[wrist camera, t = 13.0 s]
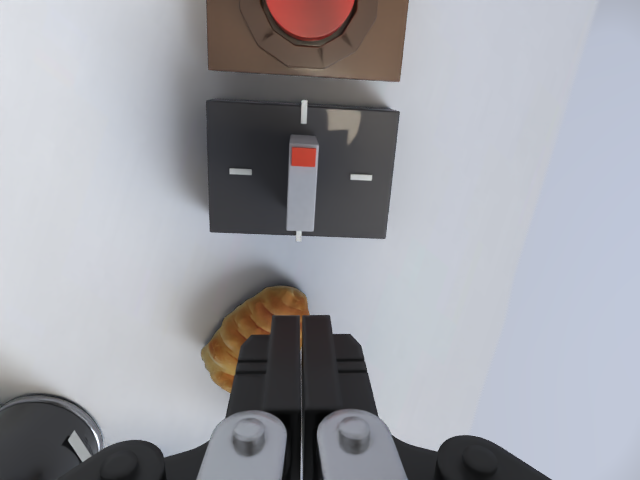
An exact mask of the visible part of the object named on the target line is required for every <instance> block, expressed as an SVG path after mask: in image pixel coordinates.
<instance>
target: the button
mask: <svg viewBox="0 0 640 480" xmlns="http://www.w3.org/2000/svg"><path fill="white" fill-rule="evenodd" d="M354 1H355V0H266V3H267V6H268V8H269V11H270V13H271V16H272V17H273V19H274V21H275V22H276V24H277V25H278V26H279V27H280V28H281V29H282V30H283V31H284V32H285V33H286V34H288V35H289V36H291V37H293V38H295V39H298V40H302V41H318V40H321V39H324V38H326V37H328V36H330V35H332V34H333V33H334V32H335V31H337V30H338V29H339V28H340V26H341V25H342V24H343V23H344V21H345V20H346V18H347V17H348V15H349V14H350V12H351V10H352V7H353V4H354Z"/></svg>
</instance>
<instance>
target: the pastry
mask: <svg viewBox="0 0 640 480" xmlns="http://www.w3.org/2000/svg"><path fill="white" fill-rule="evenodd" d="M272 315H300V350H301V346H302V315H309V311H308V303H307V298H306V296H305V294H304V293H302V292H301V291H299V290H298V289H296V288H294V287H290V286H273V287H266V288H265V289H264V290H262V291H261V292H259V293H258V294H257V295H256V296H254V297H252V298H249V299H247V300H246V301H245V302H244V303H243V304H242V305H239V306H237V307H236V309H235V310H234V311H233V312H231V313H230V314H228V315H227V316H226V317H225V318H224V319H223V322H222V326H221V327H220V328H219V329H218V330H217V331H216V333H215V334H214V335H213V337H212V339H211V340H210V342H209V343H208V344H207V345H206V346H204V347H203V349H202V351H201V357H202V360H203V361H204V363H205V368H206V369H207V370H208V371H209V372H210V376H211V378H212V380H213V381H214V382H215V383H216V384H217V385H218V386H220V387H221V388H222V389H224V390H226V391H227V392H229V393H231V389H232V385H233V380H234V375H235V370H236V366H237V363H238V356H239V351H240V347H241V345H242V344H243V343H244V342H245V341H246V340H247V339H248V338H249V337H250V336H251V335H270V332H271V322H272Z"/></svg>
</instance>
